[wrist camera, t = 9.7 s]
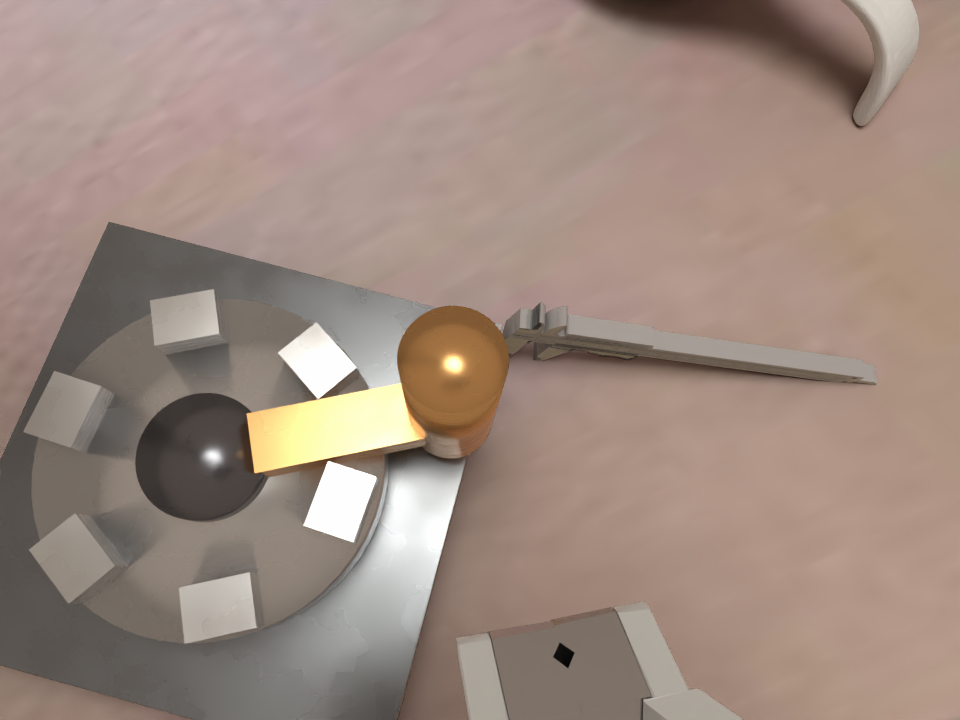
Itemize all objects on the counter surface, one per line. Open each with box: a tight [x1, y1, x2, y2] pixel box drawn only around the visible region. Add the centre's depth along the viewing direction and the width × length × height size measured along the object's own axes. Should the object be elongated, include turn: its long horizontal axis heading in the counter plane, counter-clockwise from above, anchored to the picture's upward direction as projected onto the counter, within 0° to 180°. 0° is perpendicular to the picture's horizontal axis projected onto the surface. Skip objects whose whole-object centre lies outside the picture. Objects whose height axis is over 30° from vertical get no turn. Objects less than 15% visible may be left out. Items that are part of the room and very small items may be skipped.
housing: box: [0, 222, 502, 720], centre depth 35 cm, size 20×20×4 cm
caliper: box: [503, 302, 877, 384], centre depth 37 cm, size 20×1×6 cm, turn 87°
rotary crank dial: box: [23, 289, 509, 644], centre depth 28 cm, size 19×14×11 cm
